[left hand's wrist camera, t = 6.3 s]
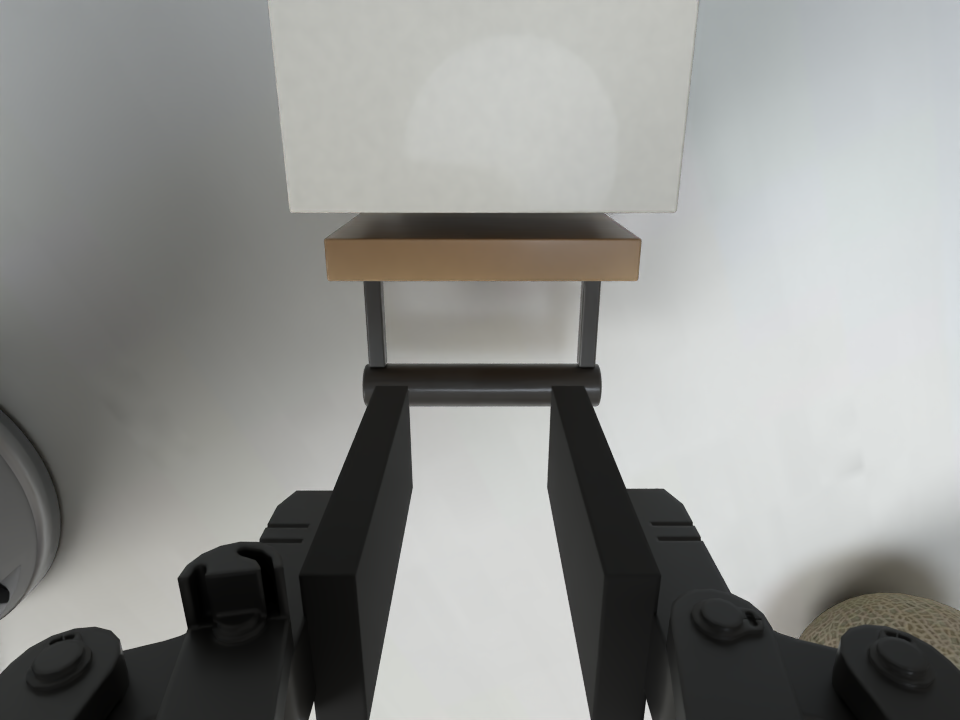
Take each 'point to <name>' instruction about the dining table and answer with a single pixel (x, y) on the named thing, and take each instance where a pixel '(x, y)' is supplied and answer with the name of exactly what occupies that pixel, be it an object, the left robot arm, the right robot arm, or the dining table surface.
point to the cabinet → (483, 104)
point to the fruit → (891, 621)
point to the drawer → (482, 257)
